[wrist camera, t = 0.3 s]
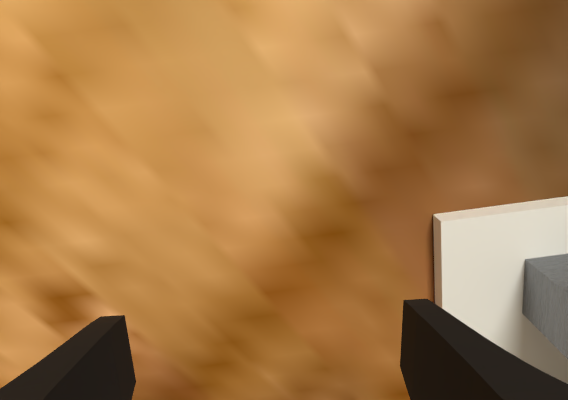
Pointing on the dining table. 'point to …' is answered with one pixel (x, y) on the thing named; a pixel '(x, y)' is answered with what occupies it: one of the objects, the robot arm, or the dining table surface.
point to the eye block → (548, 298)
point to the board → (499, 272)
